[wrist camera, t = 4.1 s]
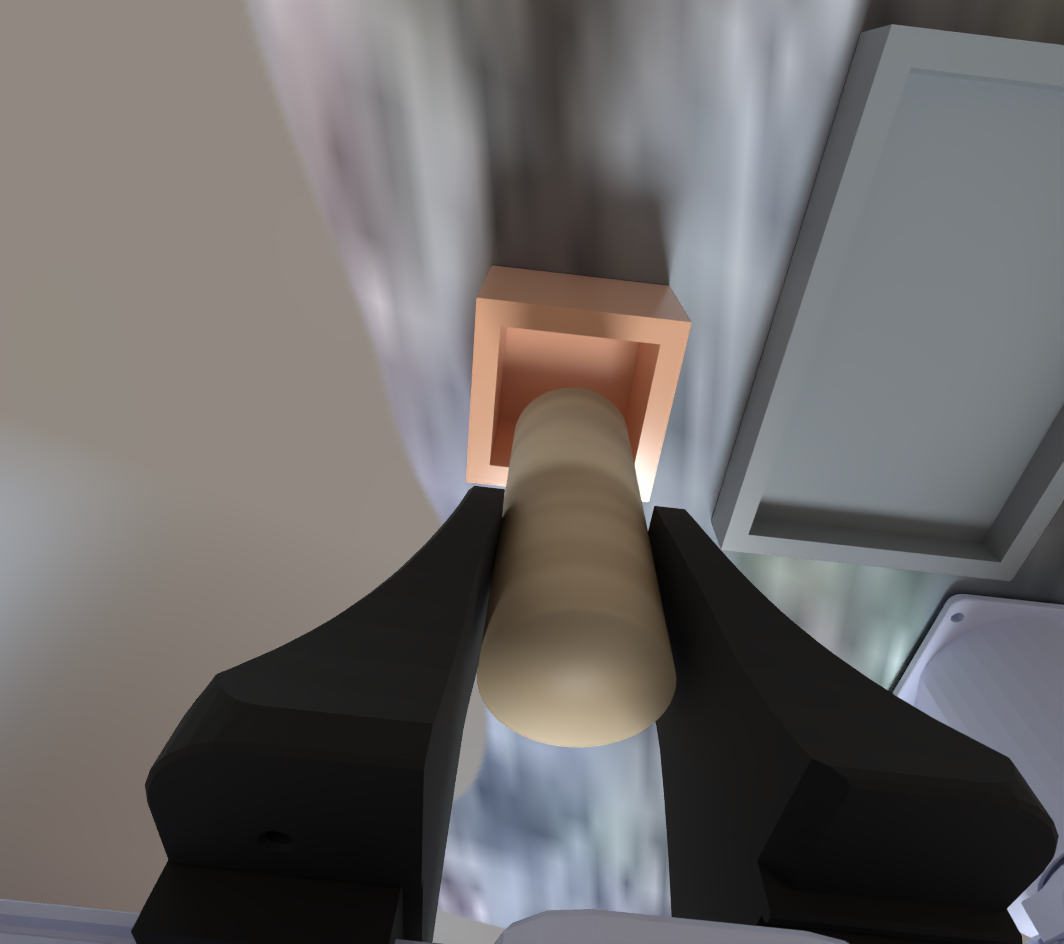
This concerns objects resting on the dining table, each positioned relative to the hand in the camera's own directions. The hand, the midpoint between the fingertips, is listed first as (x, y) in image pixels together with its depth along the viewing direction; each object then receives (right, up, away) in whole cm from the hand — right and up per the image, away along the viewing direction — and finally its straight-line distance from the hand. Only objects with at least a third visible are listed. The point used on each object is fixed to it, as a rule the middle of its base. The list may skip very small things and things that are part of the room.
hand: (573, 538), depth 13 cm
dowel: (0, +2, +4) cm, 4 cm away
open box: (0, +5, +9) cm, 10 cm away
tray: (+13, +6, +8) cm, 16 cm away
